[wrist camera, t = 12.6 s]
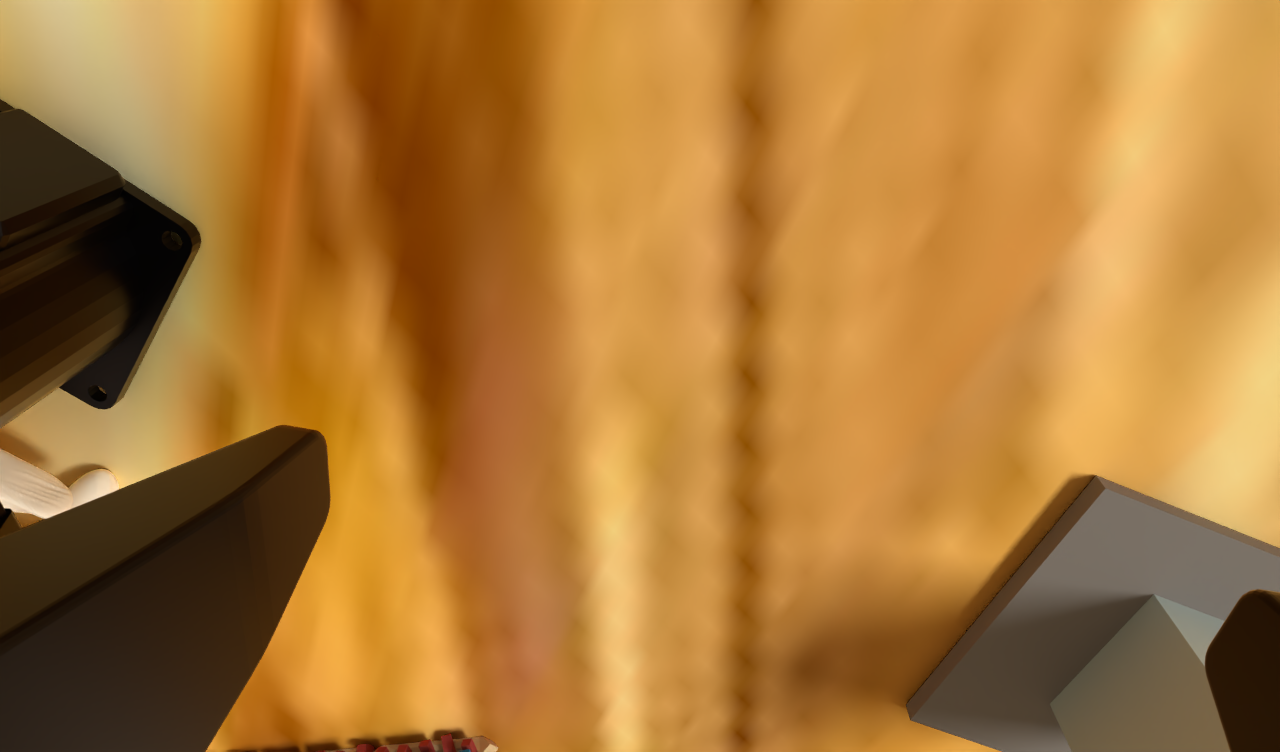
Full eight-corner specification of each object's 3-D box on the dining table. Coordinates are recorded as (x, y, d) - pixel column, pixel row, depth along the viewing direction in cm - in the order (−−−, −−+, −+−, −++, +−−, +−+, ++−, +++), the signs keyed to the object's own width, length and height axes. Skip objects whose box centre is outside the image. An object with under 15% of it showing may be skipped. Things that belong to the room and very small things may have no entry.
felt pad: (905, 704, 27) (910, 720, 26) (1095, 475, 22) (1106, 488, 22) (1162, 792, 28) (1171, 809, 28) (1391, 592, 24) (1406, 607, 23)
